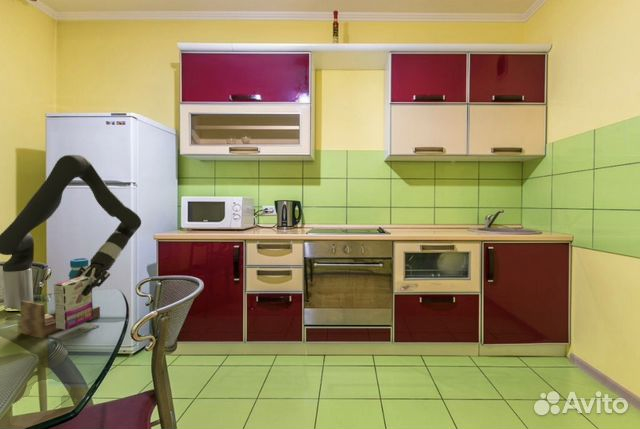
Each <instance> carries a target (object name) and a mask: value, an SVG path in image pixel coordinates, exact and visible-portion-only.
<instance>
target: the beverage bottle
mask: <svg viewBox="0 0 640 429" xmlns="http://www.w3.org/2000/svg"><path fill="white" fill-rule="evenodd" d="M69 262H70V264H69V265H70V268H71V269H70V271H69V273H68V277H69V278H68V280H70V279H74V278H75V276H76V275H77V273H78V271H79V269H80V268H81V267H83V268H87V267H88V266H89V259H88V258H86V257H83V258H82V257H81V258H72V259H70V260H69ZM84 277H85V276H84Z"/></svg>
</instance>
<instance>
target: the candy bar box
mask: <svg viewBox="0 0 640 429" xmlns="http://www.w3.org/2000/svg"><path fill="white" fill-rule="evenodd" d="M69 279H70V278H69ZM69 279H68V280H64V281H61V282H58V283H55V284H53V294H54V295H53V296H54V312H55V317H56V328H57V329H63V330H68V329H70V328H72V327H75V326H77V325H79V324H81V323H84V322H85V323H87V322H88V320H89V321H90V319H91V320H93V319H92V318H93V308H94V307H93V289H92V290H91V292H90V293H89V294H88V295H87V296H84V295H82V294H81V293H82V291H83V290H84V289H85V287H86V286H87V285H89V281H90V277H86V276H85V277H84V276H81V277H77V278H74V279H70V280H69Z"/></svg>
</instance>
